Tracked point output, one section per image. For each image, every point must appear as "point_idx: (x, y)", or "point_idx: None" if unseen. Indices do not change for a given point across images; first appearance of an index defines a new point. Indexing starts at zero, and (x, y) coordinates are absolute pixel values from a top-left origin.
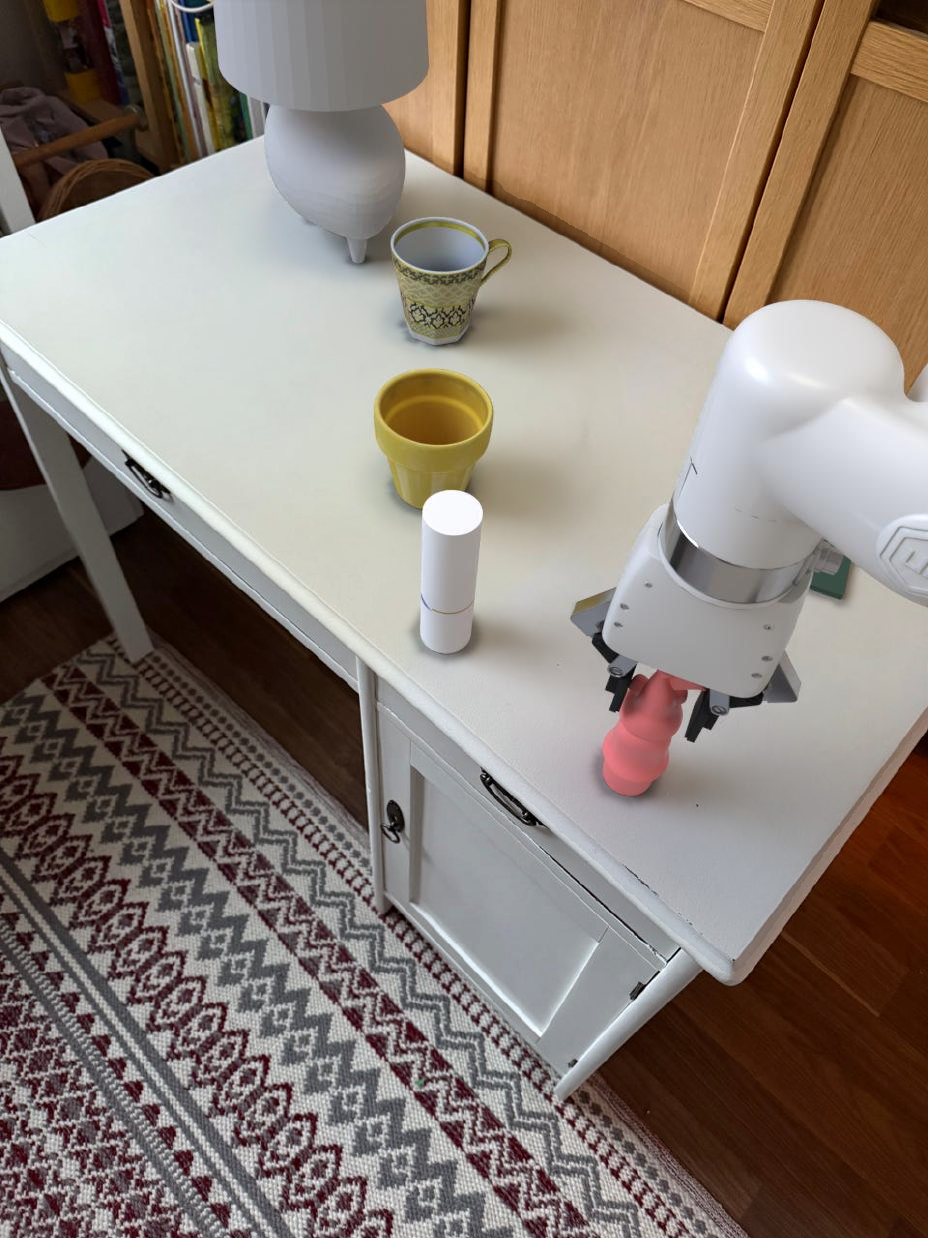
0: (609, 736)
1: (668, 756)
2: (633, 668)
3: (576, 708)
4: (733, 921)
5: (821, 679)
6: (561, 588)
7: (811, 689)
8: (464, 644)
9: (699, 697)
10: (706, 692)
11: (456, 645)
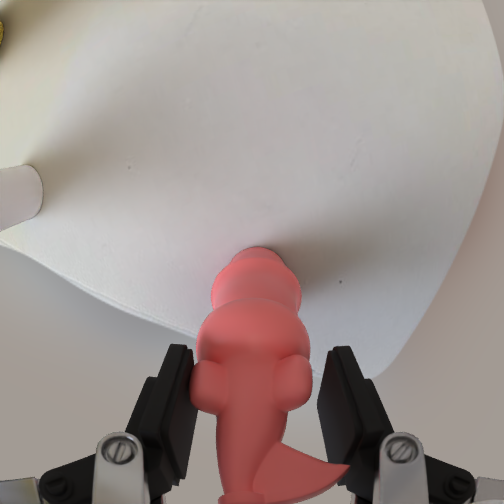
0: (214, 302)
1: (299, 293)
2: (173, 462)
3: (171, 217)
4: (377, 363)
5: (439, 73)
6: (102, 61)
7: (434, 88)
8: (39, 200)
9: (336, 398)
10: (348, 459)
11: (32, 212)
